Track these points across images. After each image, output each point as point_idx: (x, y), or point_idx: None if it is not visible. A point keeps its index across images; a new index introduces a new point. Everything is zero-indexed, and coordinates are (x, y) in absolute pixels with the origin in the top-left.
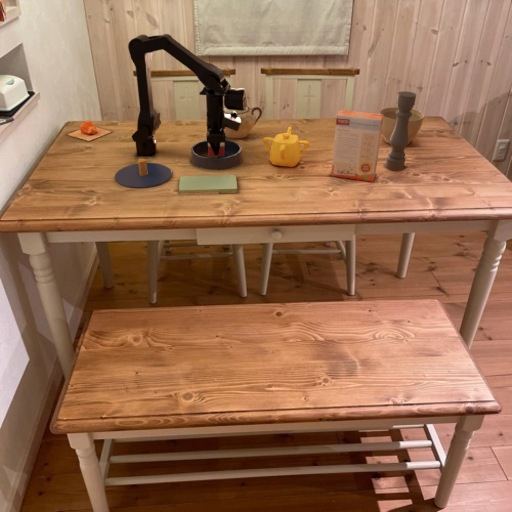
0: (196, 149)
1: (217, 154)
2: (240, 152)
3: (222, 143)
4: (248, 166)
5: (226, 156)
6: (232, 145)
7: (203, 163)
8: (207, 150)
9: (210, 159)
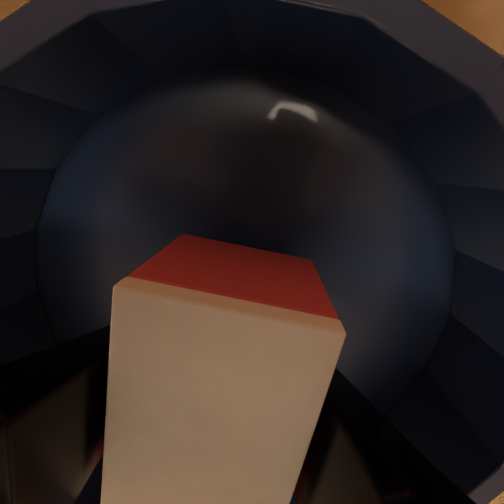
0: (99, 464)
1: None
2: (442, 32)
3: (245, 348)
4: (478, 9)
5: (190, 200)
6: (41, 92)
7: None
8: (47, 337)
9: (497, 479)
